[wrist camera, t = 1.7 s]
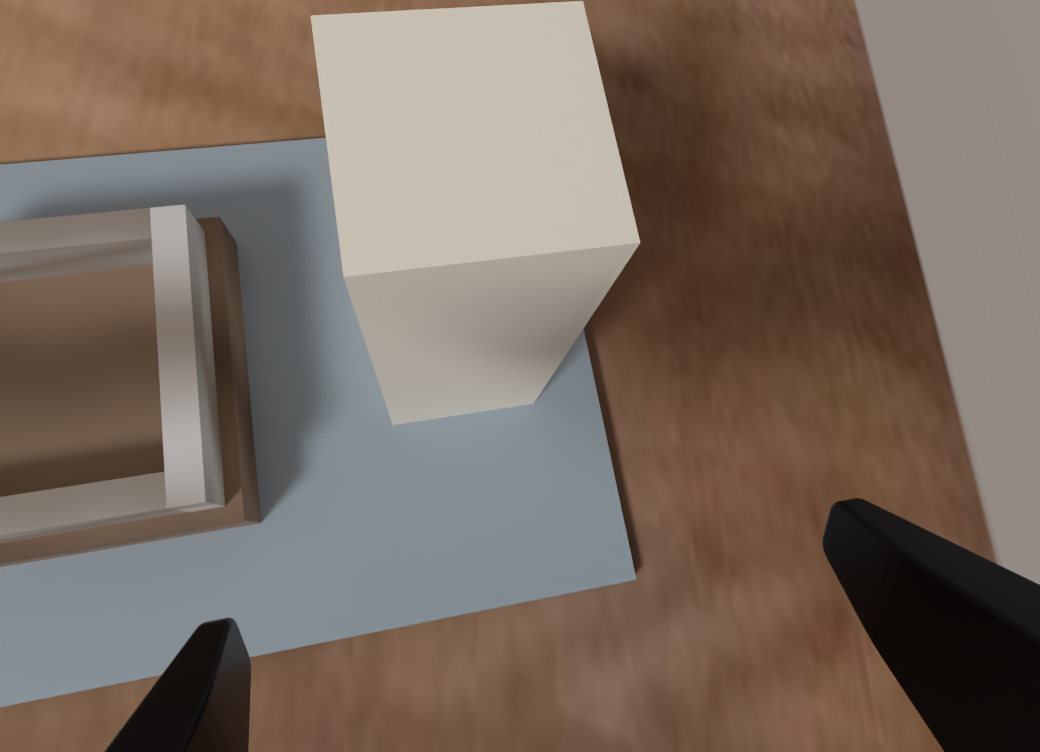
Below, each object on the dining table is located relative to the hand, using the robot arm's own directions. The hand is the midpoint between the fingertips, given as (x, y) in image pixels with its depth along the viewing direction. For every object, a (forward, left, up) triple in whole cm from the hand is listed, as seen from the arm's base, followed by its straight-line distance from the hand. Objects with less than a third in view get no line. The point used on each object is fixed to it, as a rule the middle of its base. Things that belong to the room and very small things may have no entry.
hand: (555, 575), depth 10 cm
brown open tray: (+13, +7, -13) cm, 19 cm away
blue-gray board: (+10, +2, -14) cm, 17 cm away
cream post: (+7, -4, -13) cm, 15 cm away
